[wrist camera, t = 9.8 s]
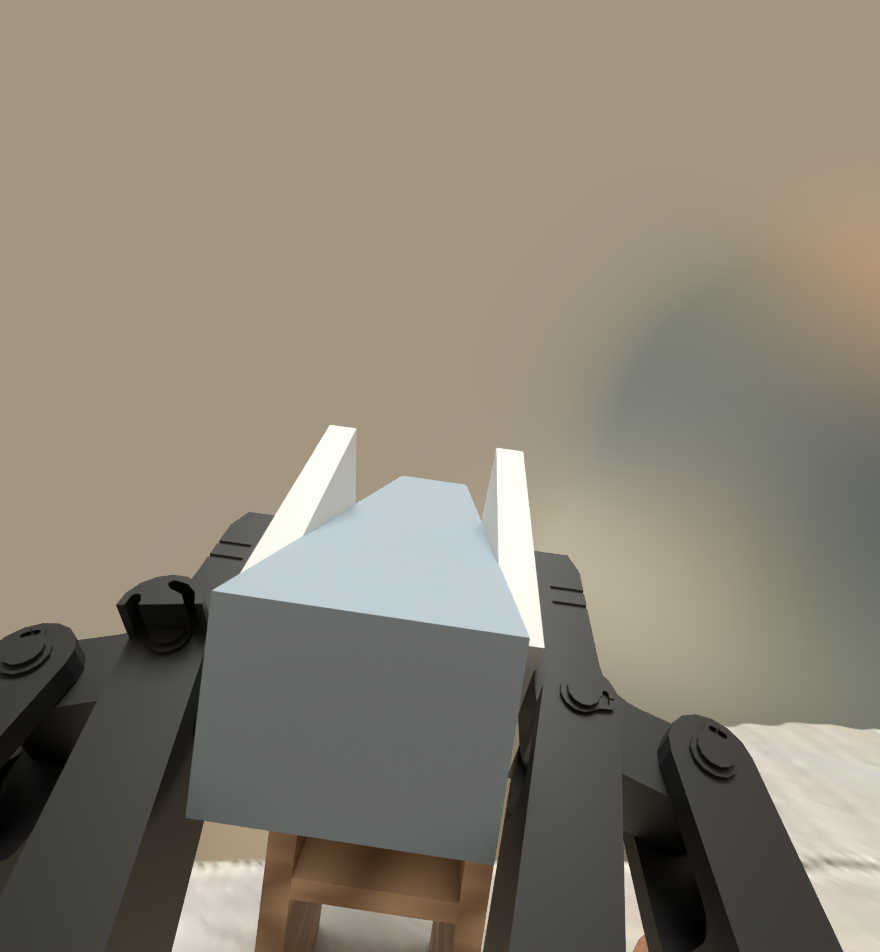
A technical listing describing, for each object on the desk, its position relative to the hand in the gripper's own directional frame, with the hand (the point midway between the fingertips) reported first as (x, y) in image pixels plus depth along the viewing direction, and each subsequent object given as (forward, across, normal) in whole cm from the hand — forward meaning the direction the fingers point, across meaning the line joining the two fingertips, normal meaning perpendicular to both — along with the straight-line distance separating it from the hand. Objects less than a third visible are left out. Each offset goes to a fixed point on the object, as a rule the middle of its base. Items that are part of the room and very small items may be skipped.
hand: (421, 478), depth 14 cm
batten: (+1, 0, -5) cm, 6 cm away
